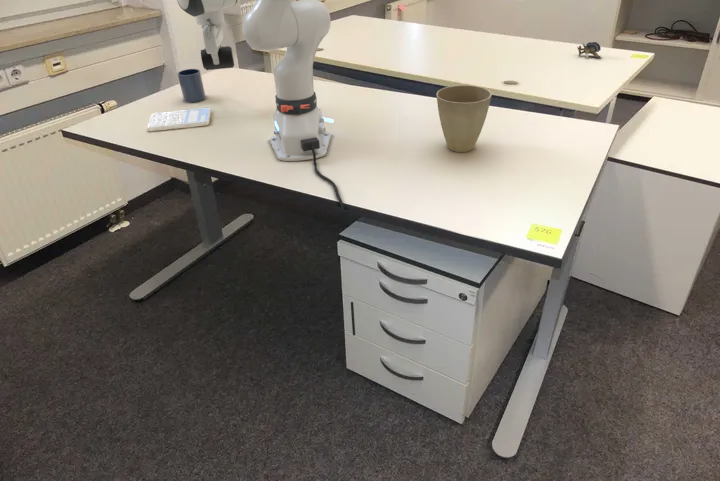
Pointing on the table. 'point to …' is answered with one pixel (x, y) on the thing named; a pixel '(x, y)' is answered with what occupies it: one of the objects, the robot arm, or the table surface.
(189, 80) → the pen cup
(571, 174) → the table surface
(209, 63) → the end cap
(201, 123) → the calculator
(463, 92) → the plant pot
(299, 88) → the robot arm
